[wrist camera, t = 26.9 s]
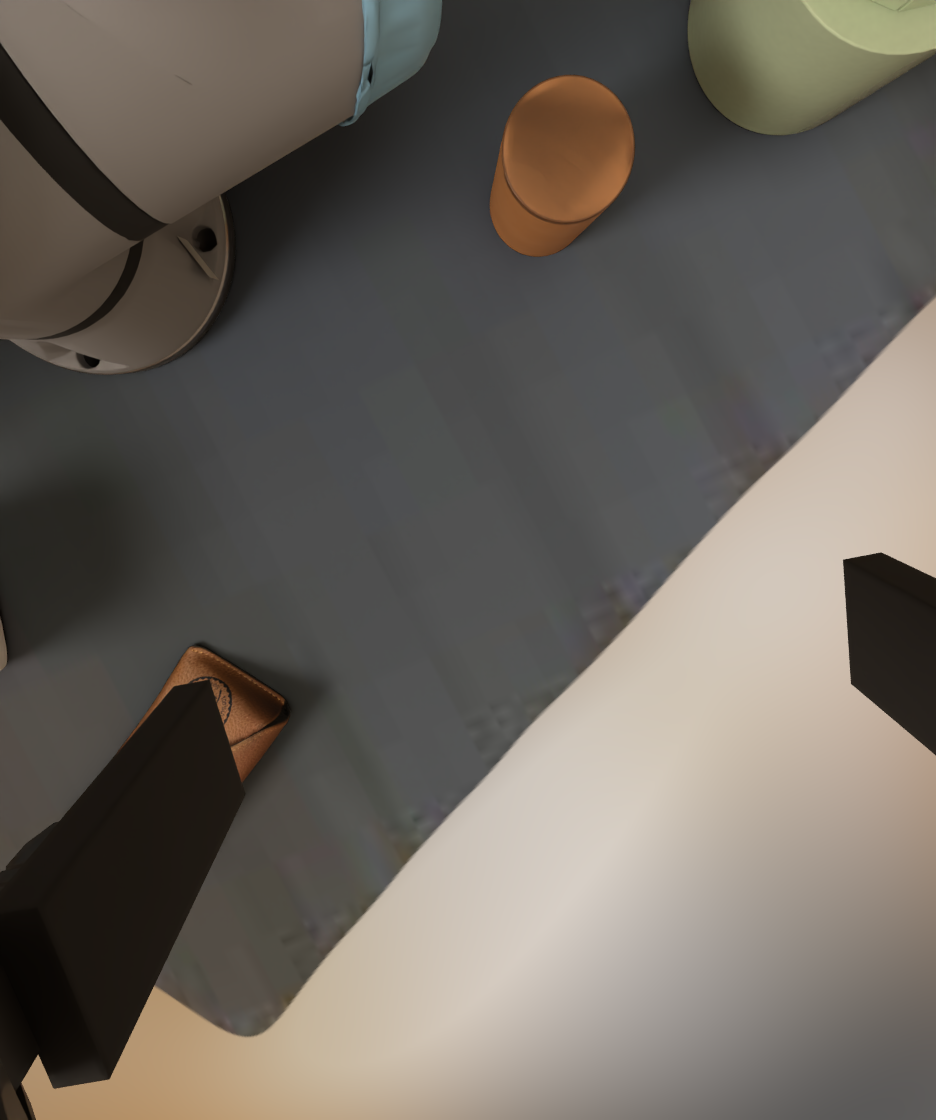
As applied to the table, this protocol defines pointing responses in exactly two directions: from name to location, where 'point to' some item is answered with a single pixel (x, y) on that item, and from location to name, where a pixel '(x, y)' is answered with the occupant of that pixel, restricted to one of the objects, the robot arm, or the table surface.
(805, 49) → the jug
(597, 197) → the brown cylindrical canister
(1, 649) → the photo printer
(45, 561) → the table surface
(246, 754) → the sunglasses case
